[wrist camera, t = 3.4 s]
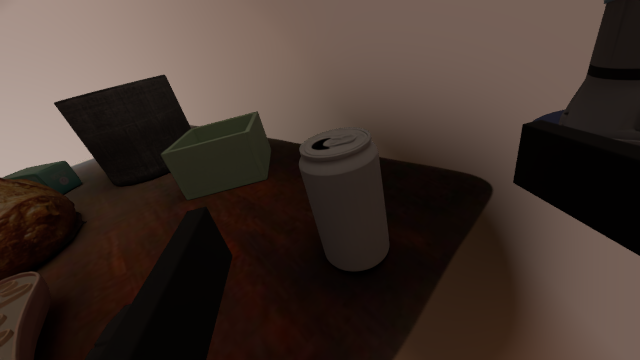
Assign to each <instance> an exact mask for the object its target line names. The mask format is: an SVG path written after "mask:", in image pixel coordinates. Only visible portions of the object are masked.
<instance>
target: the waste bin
mask: <svg viewBox="0 0 640 360" xmlns="http://www.w3.org/2000/svg"><path fill="white" fill-rule="evenodd" d="M270 154H271V148H270V145H269V142H268V140H267V137H266V134H265V131H264V128H263V125H262V123H261V119H260V117H259V114H258V112H253V113H249V114H245V115H242V116H238V117H234V118H230V119H226V120H223V121H219V122H215V123H211V124H207V125H204V126H200V127H196V128H192V129H190V130H189V131H188V132H186V133H185V134H184V135H183V136H182V137H181V138H179V139H178V140H177V141H176V142H175V143H174V144H172V145H171V146H170V147H169V148H168V149H166V150H165V151H164V152H163V153H162V154H161V156H162V158H163V160H164V162H165V163H166V165H167V167H168V168H169V170H170V172H171V174H172V175H173V177H174V179H175V180H176V182H177V184H178V186H179V187H180V189H181V191H182V192H183V194H184V196H185V197H186V199H187V200H190V199H194V198H198V197H202V196H206V195H209V194H213V193H217V192H221V191H224V190H228V189H232V188H236V187H240V186H243V185H247V184H251V183H255V182H258V181H262V180H266V179H267V177H268V169H269V162H270Z"/></svg>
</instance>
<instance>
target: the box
mask: <svg viewBox="0 0 640 360" xmlns="http://www.w3.org/2000/svg"><path fill="white" fill-rule="evenodd" d="M3 179H12V180H14V179H28V180H31V181H34V182H37V183H40V184H42V185H45V186H48V187H50V188H52V189H54V190H56V191H58V192H59V193H61V194H65V193H67V192H69V191H70V190H72V189H74V188H76V187H77V186H79V185H81V184H82V182H81V180H80V179H79V177H78V176H77V174H76V173H75V172H74V171H73V169H72V168H71V167H70V166H69V164H68V163H67V162H66V161H60V162H55V163H50V164H44V165H39V166H34V167H30V168H26V169H23V170H20V171H18V172H15V173H13V174H10V175H8V176H5V177H3Z"/></svg>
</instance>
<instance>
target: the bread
mask: <svg viewBox="0 0 640 360" xmlns="http://www.w3.org/2000/svg"><path fill="white" fill-rule="evenodd" d="M80 216H81V214H80V213H79V212H76V211H75V208H74V203H73V202H71V201H70V200H69V199H68V198H67V197H66V196H64V195H63V194H61V193H59V192H58V191H56V190H54V189H52V188H50V187H48V186H45V185H42V184H40V183H37V182H34V181H31V180H28V179H14V180H12V179H3V178H0V281H1V280H3V279H5V278H8V277H11V276H14V275H17V274H20V273H25V272H28V271H29V270H31V269H32V268H34V267H35V266H37V265H39V264H40V263H42V262H43V261H45V260H46V259H48V258H49V257H50V256H52V255H53V254H55V253H56V252H57V251H59V250H60V249H61V248H62V247H63V246H64V245H65V244H67V243H68V242H69V241H70V240H71V239H73V238H74V236H75V234H76V233H77V230H78V229H79V228H80V226H81V224H84V223H86V222H83V221H82V220H81V218H80Z"/></svg>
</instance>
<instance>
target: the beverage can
mask: <svg viewBox="0 0 640 360" xmlns="http://www.w3.org/2000/svg"><path fill="white" fill-rule="evenodd" d="M299 150H300V154H301V158H300V162H299V168H300V171H301V174H302V178H303V181H304V184H305V188H306V191H307V195H308V198H309V201H310V205H311V208H312V211H313V215H314V218H315V221H316V225H317V228H318V232H319V235H320V238H321V242H322V245H323V248H324V252H325V255H326V257H327V259H328V260H329V262H330V263H331V264H332V265H334V266H335V267H337V268H339V269H342V270H345V271H363V270H367V269H370V268H372V267H374V266H376V265H377V264H379V263H380V262H381V261H382V260H383V259H384V258H385V257H386V255H387V253H388V250H389V236H388V228H387V220H386V211H385V203H384V195H383V187H382V179H381V171H380V162H379V155H378V148H377V146H376V145H375V144H374V143H373V142H372V141H371V134H370V132H369V131H367V130H365V129H362V128H339V129H334V130H330V131H326V132H323V133H320V134H317V135H315V136H313V137H311V138H309V139H308V140H306V141H305V142H304V143H302V145H301V146H300V149H299Z"/></svg>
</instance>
